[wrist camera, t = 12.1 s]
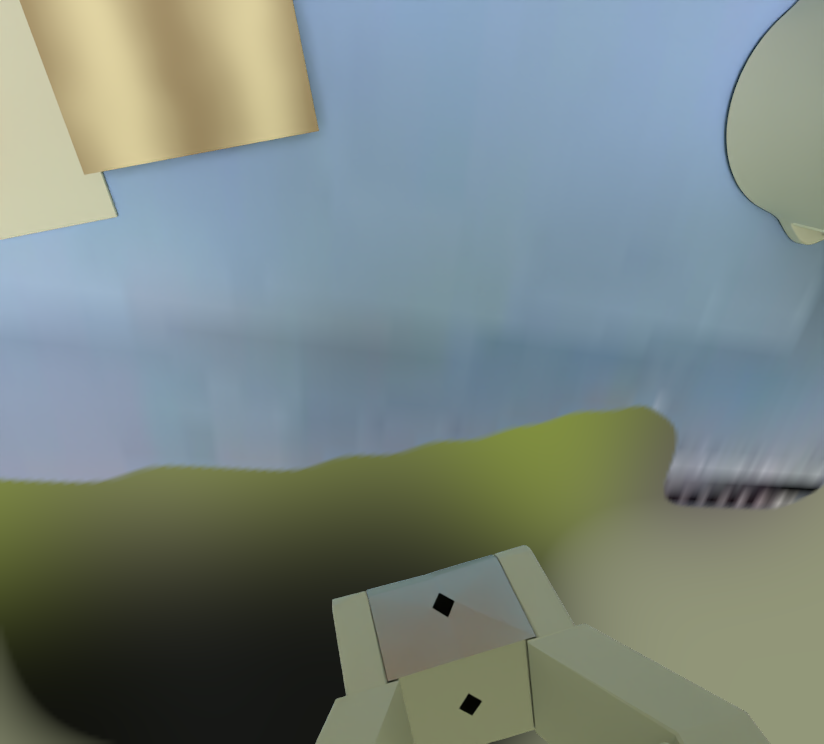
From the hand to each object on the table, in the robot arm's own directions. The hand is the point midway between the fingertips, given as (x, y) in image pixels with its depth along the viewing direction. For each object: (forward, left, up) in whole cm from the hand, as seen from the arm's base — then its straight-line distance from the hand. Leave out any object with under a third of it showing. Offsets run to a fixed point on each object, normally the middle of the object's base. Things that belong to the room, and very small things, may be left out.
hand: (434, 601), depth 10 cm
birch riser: (+4, -10, -34) cm, 36 cm away
